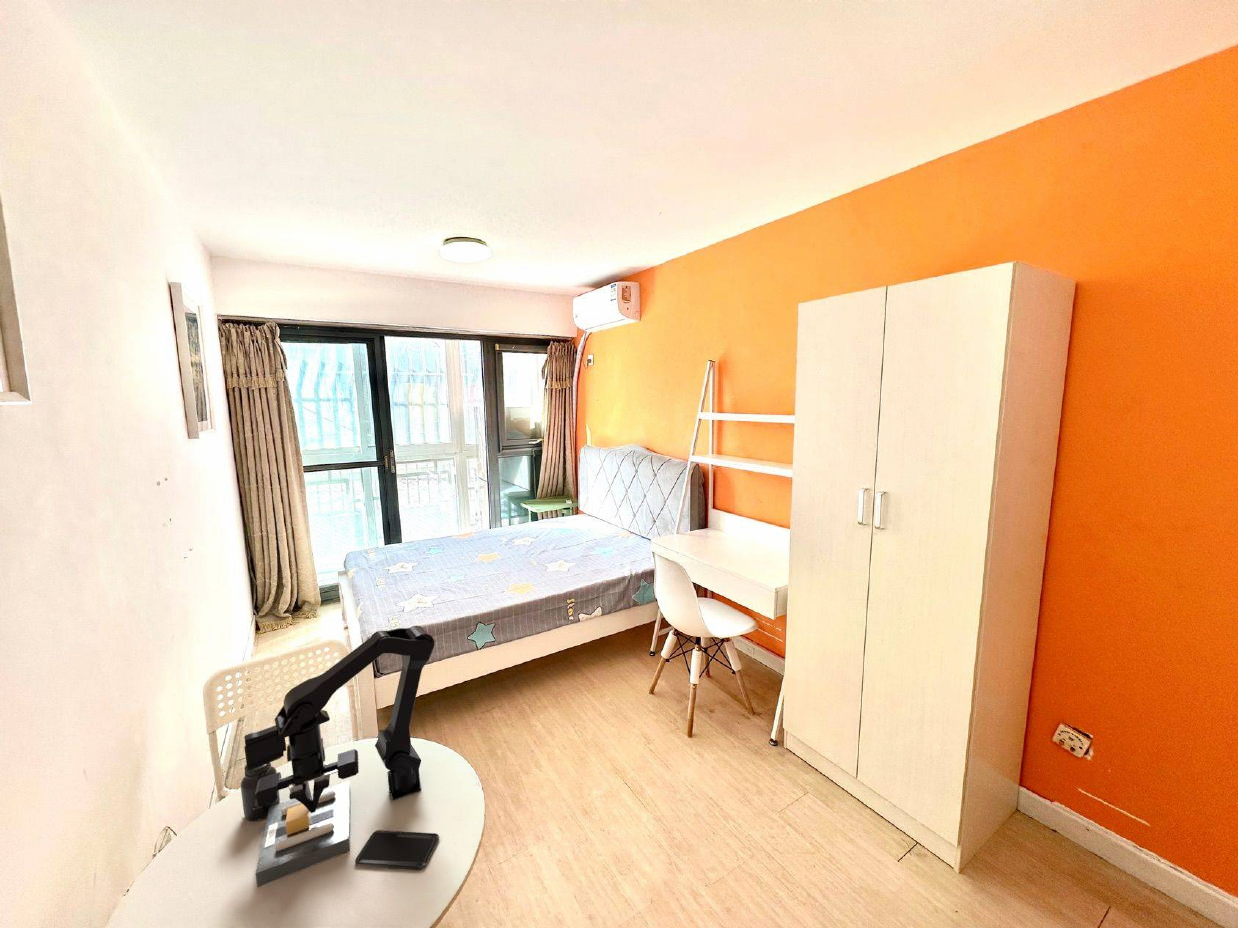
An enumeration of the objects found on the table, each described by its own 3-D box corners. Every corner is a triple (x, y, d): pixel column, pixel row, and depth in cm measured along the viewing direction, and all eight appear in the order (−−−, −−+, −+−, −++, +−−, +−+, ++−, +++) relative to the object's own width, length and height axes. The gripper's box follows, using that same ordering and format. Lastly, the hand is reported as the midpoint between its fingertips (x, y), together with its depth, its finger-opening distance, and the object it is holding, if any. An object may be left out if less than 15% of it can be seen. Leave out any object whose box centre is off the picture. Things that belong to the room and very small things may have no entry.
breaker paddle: (310, 813, 110) (309, 801, 110) (309, 827, 107) (307, 814, 106) (289, 821, 108) (287, 808, 108) (287, 835, 105) (285, 822, 104)
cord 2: (336, 794, 116) (335, 787, 116) (335, 798, 114) (335, 792, 114) (281, 812, 111) (280, 806, 111) (280, 817, 110) (279, 811, 109)
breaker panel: (350, 791, 120) (349, 780, 120) (350, 850, 105) (348, 837, 104) (270, 818, 113) (269, 806, 112) (257, 886, 97) (255, 873, 97)
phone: (423, 867, 100) (352, 862, 101) (424, 872, 100) (353, 867, 101) (440, 833, 107) (374, 828, 109) (441, 837, 108) (375, 833, 109)
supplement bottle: (262, 824, 111) (255, 776, 110) (236, 820, 113) (229, 772, 111) (287, 800, 118) (282, 754, 116) (263, 796, 120) (257, 750, 118)
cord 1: (334, 826, 107) (333, 819, 107) (334, 831, 106) (333, 825, 105) (275, 847, 102) (274, 841, 102) (274, 854, 101) (273, 847, 101)
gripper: (354, 711, 118) (360, 771, 120) (259, 738, 109) (267, 801, 111) (355, 739, 108) (361, 803, 110) (250, 771, 99) (259, 840, 102)
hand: (313, 810), depth 109 cm, fingers closed
